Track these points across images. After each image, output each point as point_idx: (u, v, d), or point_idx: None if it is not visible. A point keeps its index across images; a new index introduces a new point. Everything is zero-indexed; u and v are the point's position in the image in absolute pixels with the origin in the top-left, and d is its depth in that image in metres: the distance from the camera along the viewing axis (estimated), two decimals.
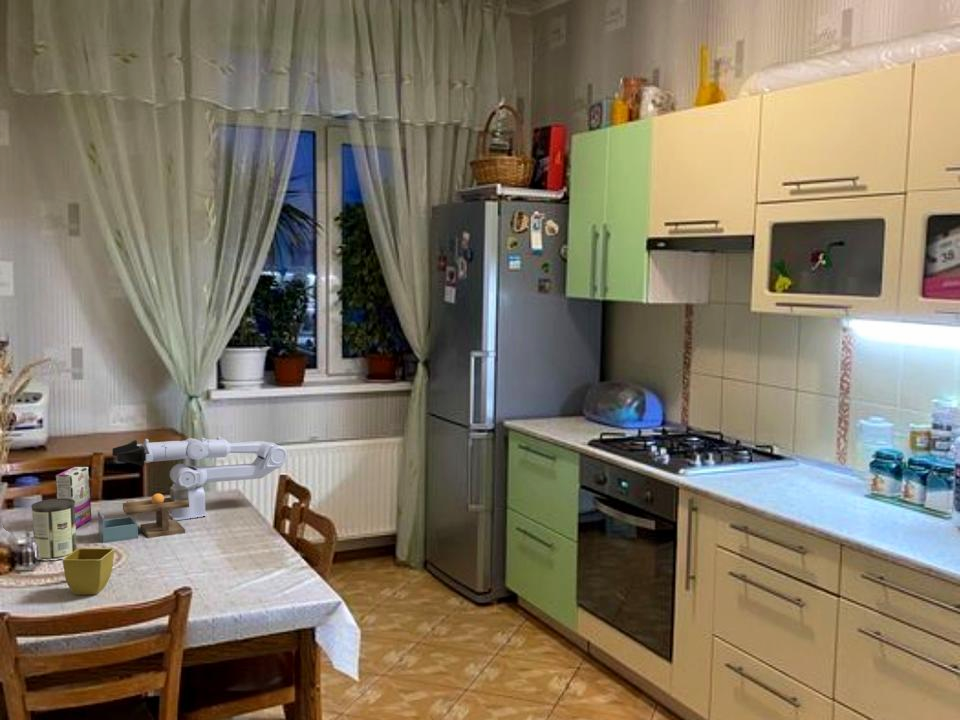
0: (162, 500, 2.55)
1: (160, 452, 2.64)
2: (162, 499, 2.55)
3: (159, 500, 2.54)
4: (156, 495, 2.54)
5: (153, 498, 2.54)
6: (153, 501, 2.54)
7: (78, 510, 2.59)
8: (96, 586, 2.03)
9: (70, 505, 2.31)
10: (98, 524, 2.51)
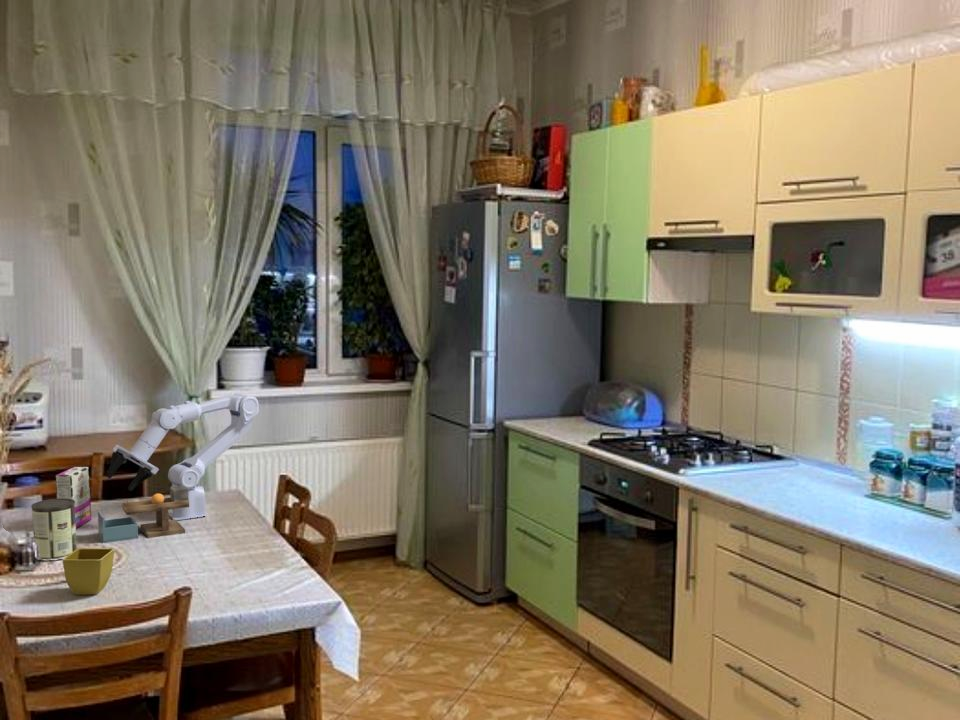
0: (162, 500, 2.55)
1: (151, 452, 2.61)
2: (162, 499, 2.55)
3: (159, 500, 2.54)
4: (156, 495, 2.54)
5: (153, 498, 2.54)
6: (153, 501, 2.54)
7: (78, 510, 2.59)
8: (96, 586, 2.03)
9: (70, 505, 2.31)
10: (98, 524, 2.51)
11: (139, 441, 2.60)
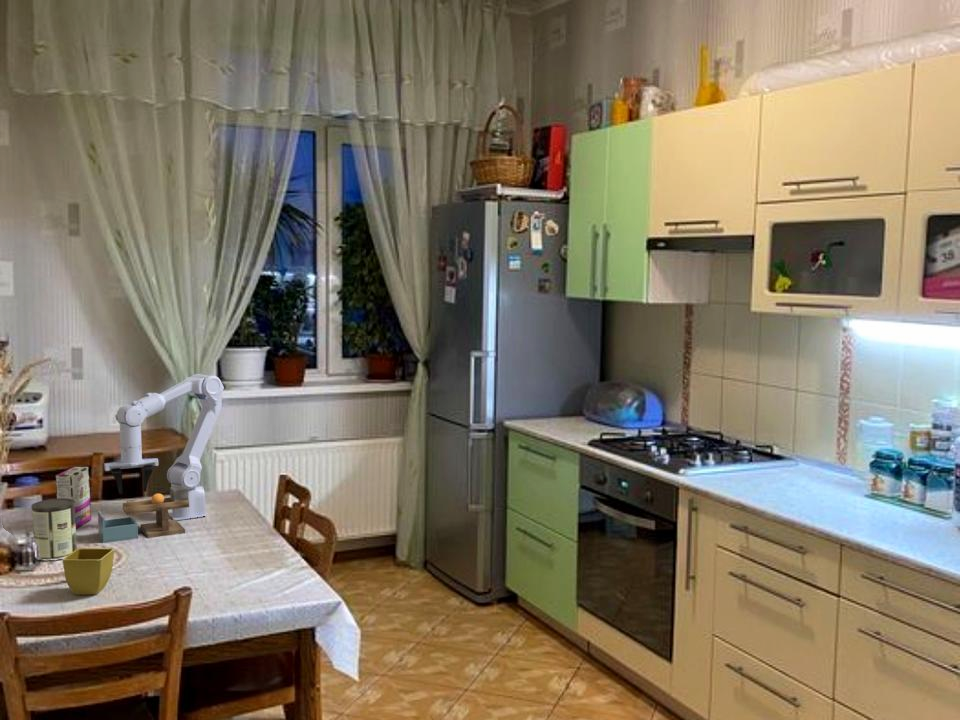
0: (162, 500, 2.55)
1: (141, 450, 2.59)
2: (162, 499, 2.55)
3: (159, 500, 2.54)
4: (156, 495, 2.54)
5: (153, 498, 2.54)
6: (153, 501, 2.54)
7: (78, 510, 2.59)
8: (96, 586, 2.03)
9: (70, 505, 2.31)
10: (98, 524, 2.51)
11: (128, 450, 2.55)
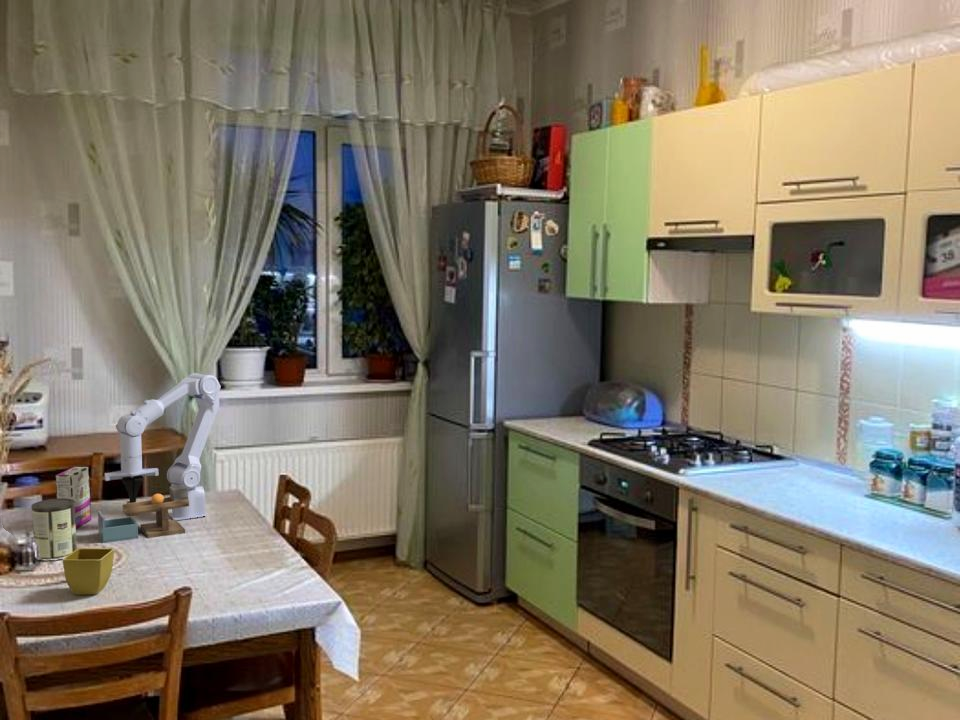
0: (162, 500, 2.55)
1: (141, 460, 2.59)
2: (162, 499, 2.55)
3: (159, 500, 2.54)
4: (156, 495, 2.54)
5: (153, 498, 2.54)
6: (153, 501, 2.54)
7: (78, 510, 2.59)
8: (96, 586, 2.03)
9: (70, 505, 2.31)
10: (98, 524, 2.51)
11: (128, 460, 2.55)
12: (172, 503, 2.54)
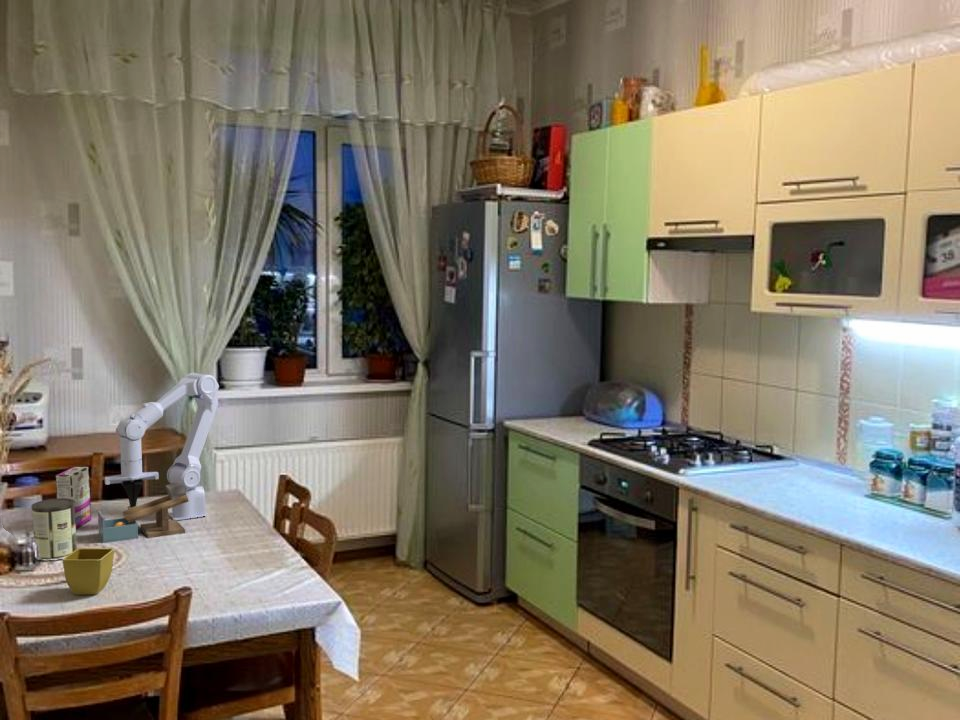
0: None
1: (141, 463, 2.59)
2: None
3: None
4: (121, 523, 2.50)
5: (117, 525, 2.49)
6: None
7: (78, 510, 2.59)
8: (96, 586, 2.03)
9: (70, 505, 2.31)
10: (98, 524, 2.51)
11: (128, 463, 2.55)
12: (171, 502, 2.54)
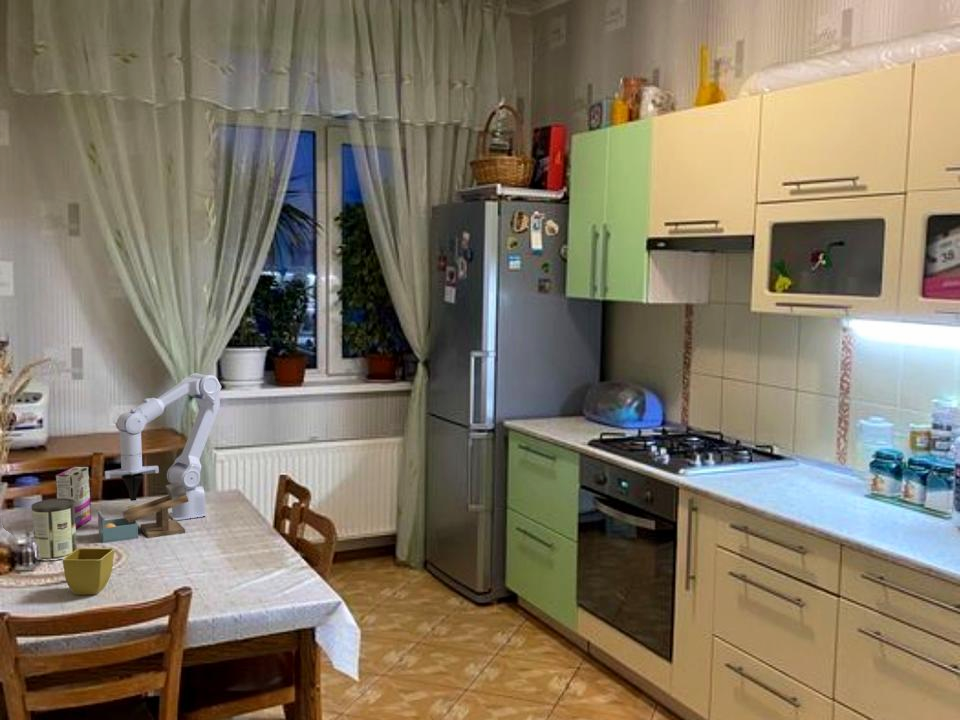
0: None
1: (141, 457, 2.59)
2: None
3: None
4: None
5: None
6: None
7: (78, 510, 2.59)
8: (96, 586, 2.03)
9: (70, 505, 2.31)
10: (98, 524, 2.51)
11: (128, 457, 2.55)
12: (171, 502, 2.54)
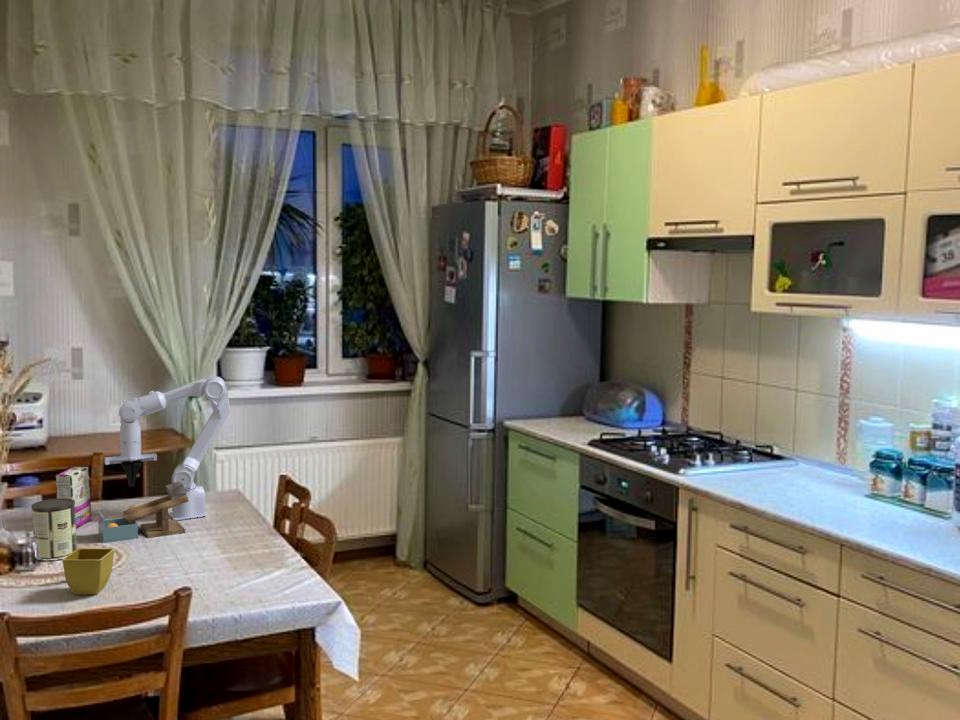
0: None
1: (140, 445, 2.67)
2: None
3: None
4: None
5: None
6: None
7: (78, 510, 2.59)
8: (96, 586, 2.03)
9: (70, 505, 2.31)
10: (98, 524, 2.51)
11: (127, 444, 2.63)
12: (171, 502, 2.54)
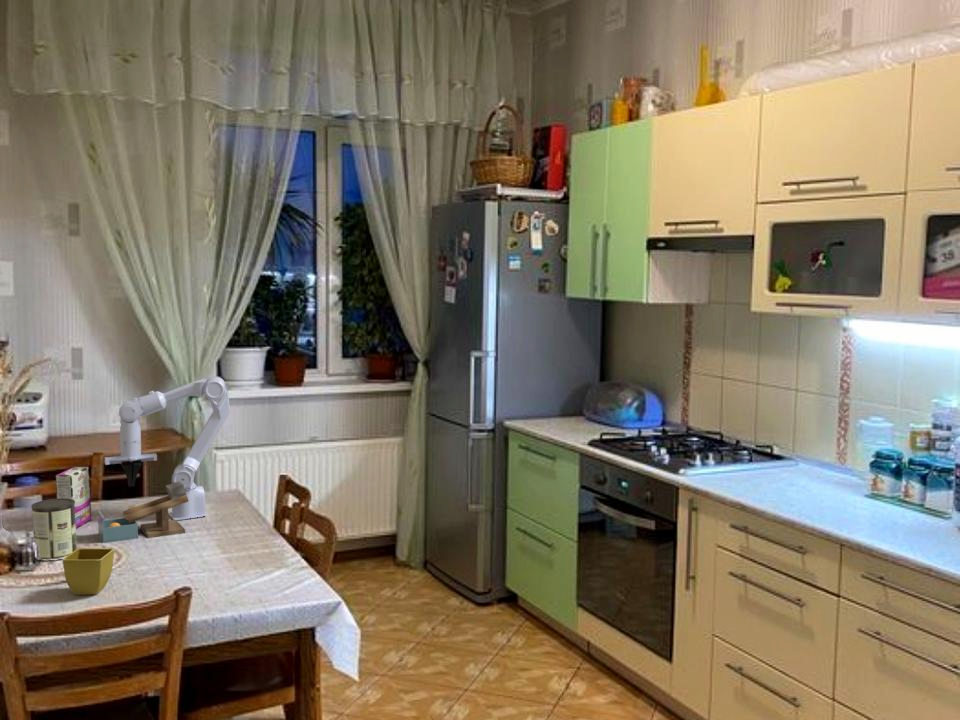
0: None
1: (140, 445, 2.67)
2: None
3: None
4: (111, 525, 2.49)
5: None
6: None
7: (78, 510, 2.59)
8: (96, 586, 2.03)
9: (70, 505, 2.31)
10: (98, 524, 2.51)
11: (127, 444, 2.63)
12: (171, 502, 2.54)
